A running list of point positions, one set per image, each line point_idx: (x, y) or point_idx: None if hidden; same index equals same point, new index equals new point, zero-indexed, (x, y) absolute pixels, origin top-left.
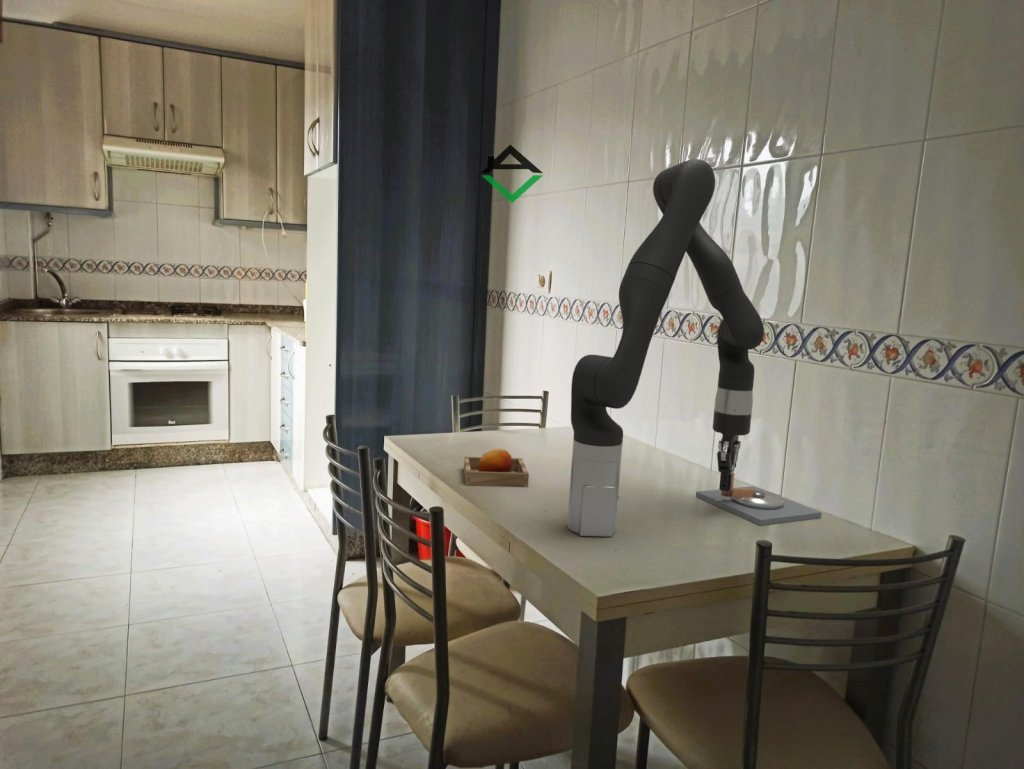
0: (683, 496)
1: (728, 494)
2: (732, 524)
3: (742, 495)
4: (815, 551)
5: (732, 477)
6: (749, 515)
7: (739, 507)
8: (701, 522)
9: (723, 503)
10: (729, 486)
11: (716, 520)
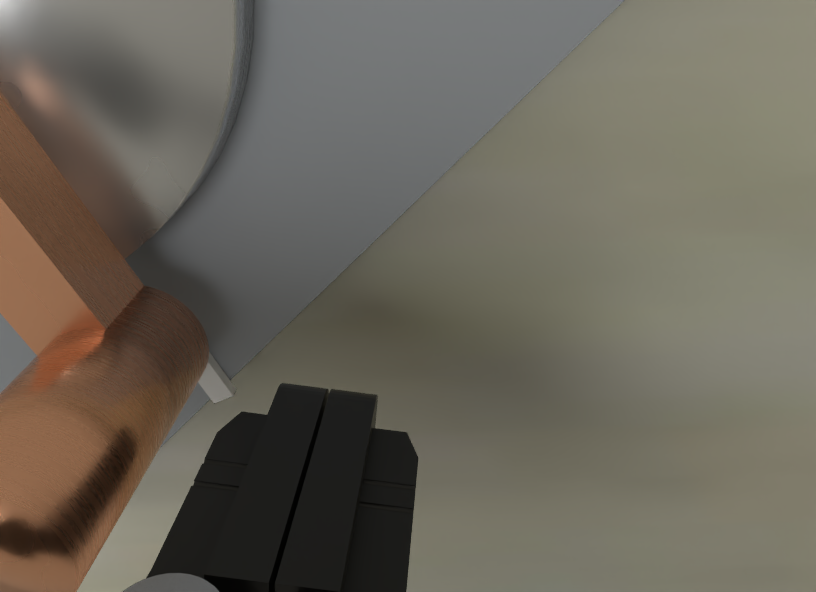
0: (147, 567)
1: (192, 339)
2: (786, 188)
3: (54, 177)
4: None
5: (56, 468)
6: (592, 30)
7: (328, 165)
8: (810, 435)
9: (283, 325)
10: (369, 441)
11: (702, 331)
